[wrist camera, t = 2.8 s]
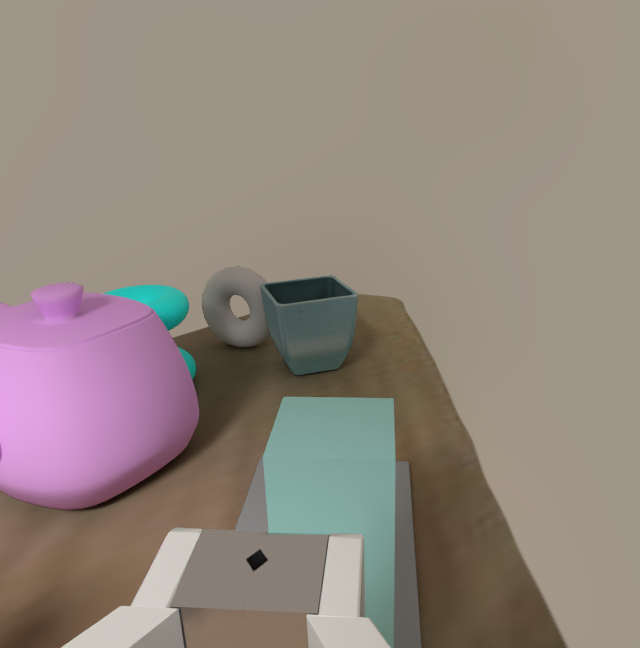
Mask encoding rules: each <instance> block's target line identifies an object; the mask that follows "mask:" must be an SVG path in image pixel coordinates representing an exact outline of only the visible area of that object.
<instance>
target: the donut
mask: <svg viewBox="0 0 640 648" xmlns="http://www.w3.org/2000/svg"><path fill="white" fill-rule="evenodd" d="M264 283H267V281H266V280H265V279H264V278H263V277H262V276H261V275H259V274H257V273H256V272H254V271H252V270H251V269H248V268H243V267H239V266H237V267H228V268H224V269H223V270H220V271H218V272H216V273H215V274H214V275H213V276H212V277H211V278H210V279H209V281H208V282H207V283H206V286H205V289H204V292H203V295H202V309H203V313H204V318H205V320H206V322H207V324H208V325H209V327H210V329H211V330H212V331H213V332H214V333H215V335H216V336H217V337H218V338H220V339H221V340H223V341H224V342H226V343H227V344H230V345H233V346H237V347H240V348H241V347H253V346H255V345H258V344H260V343H263V342H264V341H265V340H266V339H267V338H268V337H269V336H270V335H271V334H270V332H269V329H268V325H267V321H266V316H265V311H264V305H263V300H262V295H261V290H260V284H264ZM233 295H240V296H241V297H243V298H244V299H245V300H246V302H247V303H248V305H249V308H250V316H249V318H248V319H247V320H241V319H239V318H237V317H236V316H235V315H234V314H233V312H232V310H231V308H230V298H231V297H232V296H233Z"/></svg>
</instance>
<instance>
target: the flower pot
mask: <svg viewBox="0 0 640 648" xmlns="http://www.w3.org/2000/svg"><path fill="white" fill-rule="evenodd" d="M260 290H261V295H262V300H263V305H264V311H265V316H266V321H267V325H268V329H269V332H270V334H271V337H272V339H273V342H274V344H275V346H276V348H277V349H278V351H279V353H280V354H281V356H282V358H283V359H284V361H285V362H286V364H287V365H288V367H289V368H290V370H291V372H292V373H293V374H294V375H303V374H309V373H315V372H321V371H328V370H334V369H338V368H339V367H340V365H341V364H342V363H343V361H344V359H345V358H346V356H347V354H348V352H349V350H350V348H351V345H352V341H353V337H354V331H355V323H356V313H357V303H358V294H357V293H356V292H355V291H354V290H352V289H351V288H349V287H348V286H347V285H345V284H344V283H342V282H341V281H340V280H338V279H337V278H336V277H334V276H321V277H313V278H305V279H296V280H289V281H281V282H272V283H264V284H260Z"/></svg>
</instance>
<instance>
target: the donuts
mask: <svg viewBox="0 0 640 648" xmlns="http://www.w3.org/2000/svg"><path fill="white" fill-rule="evenodd" d="M104 294H107V295H114V296H120V297H124V298H128V299H132V300H135V301H138V302H141V303H143V304H146V305H147V306H149V307H150V308H152V309H153V310H154V311H155V312H156V313H157V315H158V316H159V318H160V319H161V321H162V322H163V323H164V325H165V327H166V328H167V330H171V329H172V328H174V327H176V326H177V325H178V324H180V323H181V322H182V321H183V320H184V318H185V317H186V315H187V313H188V310H189V303H188V299H187V297H186V296H185V295H184V294H183V293H182V292H181V291H180V290H178V289H176V288H173V287H169V286H163V285H139V286H131V287H125V288H120V289H116V290H112V291H109V292H106V293H104ZM178 349H179V351H180V353H181V354H182V356H183V358H184V360H185V362H186V365H187V367H188V370H189V372H190V375H191V378H192V380H193V378H194V376H195V373H196V364H195V361H194V359H193V357H192V356H191V355H190V354H189V353H188V352H187V351H185V350H183V349H181V348H179V347H178Z"/></svg>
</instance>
